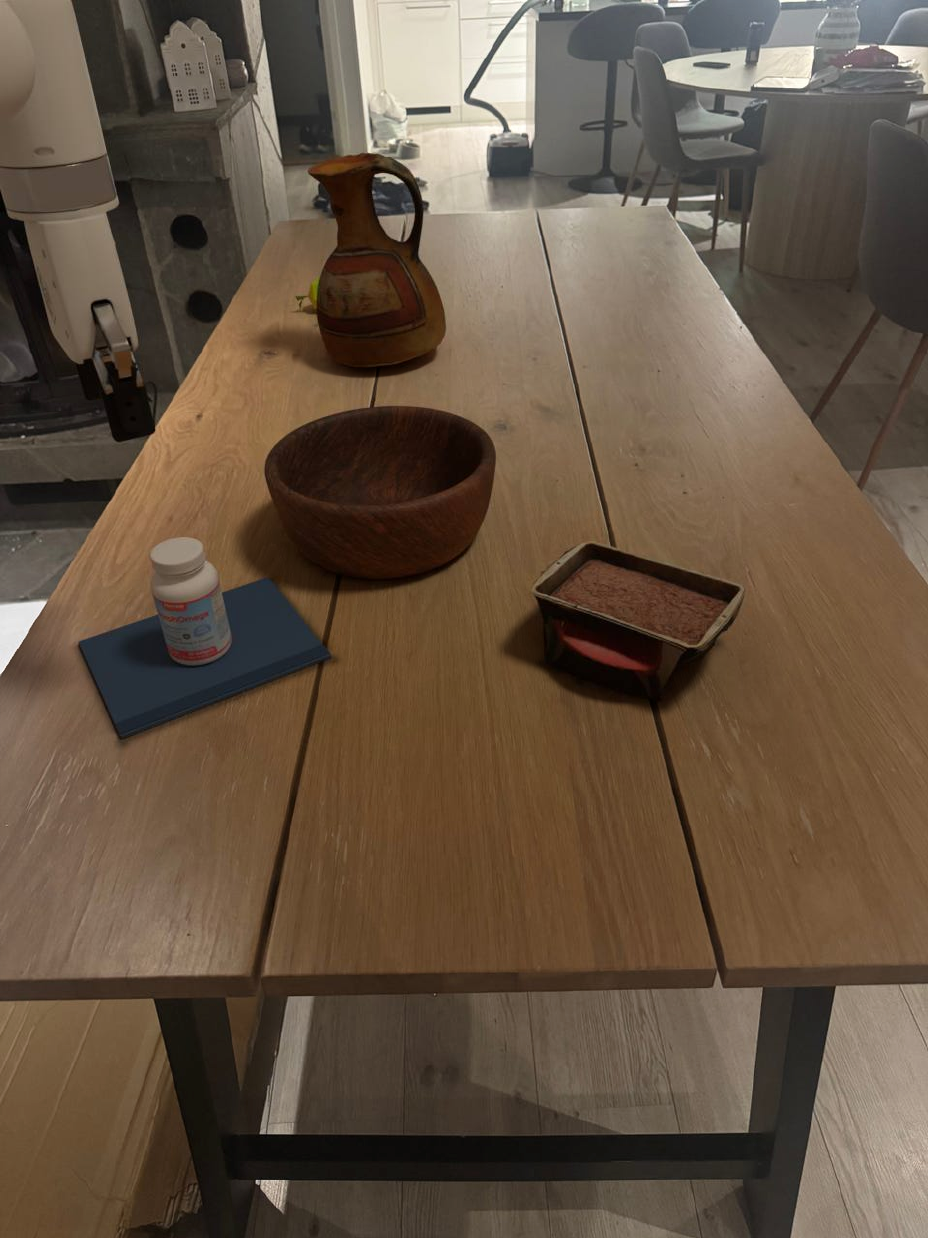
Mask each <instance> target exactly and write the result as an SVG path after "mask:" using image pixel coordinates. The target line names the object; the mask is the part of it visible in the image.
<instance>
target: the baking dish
mask: <svg viewBox="0 0 928 1238" xmlns="http://www.w3.org/2000/svg"><path fill="white" fill-rule="evenodd" d="M530 590H531V592H532V594H533V596H534V598H535V599H536V601H537V605H538V608H539V609H538V610H539V612H540V615H541V619H542V631H543V632H542V633H543V648H544V658H543V662H544V663H546V664H547V665H549V666H550V667H553V668H555V669H558V670H560V671H563V672H565V673H568V674H571V675H572V676H576V677H579V678H581V679H585V680H588V681H590V682H594V683H596V684H599V685H603V686H605V687H609V688H610V689H614V690H616V691H619V692H623V693H625V694H629V695H632V696H637V697H640V698H642V699H646V700H649V701H652V702H653V701H654V702H659V703H661V701H662V700H663V696H664V691H665V687H666V683H668V680H669V678H670V677H671V675H672V673H673V672H674V671H675V670H674V669H675V668H677V667H680V666H681V665H683V664H685V663H687V662H690V661H693V660H694V659H696V658H697V657H700V656H702V655H703V654H704V652H706V651H707V650H708V649H710V648H711V647H712V646H713V645H714V644H715V643H716V642H717V639H718V638H719V637H720V636H721V635H722V633H725V632H727V631H728V630H729V628H730V627H731V626H732V625H733V624H734V622H735V620H736V618H738V615H739V612H740V610H741V607H742V604H743V601H744V599H745V595H746V588H745V586H744V584H743V583H740V582H736V581H731V580H728V579H724V578H721V577H717V576H714V575H711V574H708V573H704V572H701V571H696V570H693V569H689V568H686V567H682V566H680V565H675V564H672V563H669V562H665V561H662V560H659V559H656V558H653V557H648V556H646V555H645V556H644V555H641V554H638V553H635V552H631V551H629V550H624V549H621V548H618V547H615V546H611V545H607V544H604V543H601V542H597V541H586V542H582V543H580V544H577V545H575V546H573V547H571V548H570V549H567V550H566V551H565V552H564V553H563V554H562V555H561V556H560V557H558V559H557V560H555V561H554V562H552V563H551V564H549V565H548V567H547V568H546V569H544V570H543V571H541V572H540V575H539V577H538V578H537V579H536V580H535V581H534V582H533V584H532V585H531V588H530Z"/></svg>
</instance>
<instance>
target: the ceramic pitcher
mask: <svg viewBox="0 0 928 1238" xmlns="http://www.w3.org/2000/svg"><path fill="white" fill-rule="evenodd" d="M307 173H308V175H309V176H311V177H312V178H313V179H315V180H316V181H317V182H318V183H320V184H321V185H322V187H323V188H324V190H325V191H326V192H327V194H328V198H329V206H330V210H331V212H332V214H333V216H334V219H335V222H336V224H337V232H336V243H337V245H336V247H335V248H334V250H333V251H332V252H331V254H329V256H328V257H327V259H326V261H325V262H324V265H323V267H322V270H321V273H320V276H319V278H320V279H319V283H318V289H317V307H316V309H317V310H316V309H315V310H316V319H317V325H318V329H319V334H320V336H321V340H322V343H323V345H324V349H325V351H326V353H327V354H328V356H330V358H331V359H332V360H334V361H335V362H337V363H339V364H343V365H345V366H348V367H355V368H371V367H381V366H382V367H383V366H391V365H396V364H397V365H398V364H400V363H402V362H405V361H409V360H412V359H414V358H416V357H420V356H423V355H424V354H427V353H428V352H430V351H432V350H433V349H436V348H437V347H438V346H440V345H441V344H442V342H443V340H444V338H445V336H446V332H447V323H446V322H447V321H446V312H445V308H444V305H443V300H442V298H441V294H440V291H439V289H438V286H437V284H436V282H435V280H434V279H433V276H432V274H431V273H430V272H429V270H428V268H427V266H426V265H425V264H424V263H423V262H422V260H421V258H420V254H419V252H420V244H421V238H422V232H423V226H424V225H423V224H424V214H425V213H424V212H425V211H424V202H423V196H422V193H421V190H420V187H419V184H418V182H417V180H416V178H415V176H414V174H413V173H412V171H411V170H410V169H409V168H408V167H407V166H406V165H404V164H403V163H401V162H400V161H399V160H397V159H395V158H394V157H392V156H385V155H382V154H380V153H372V152H360V153H358V154H347V155H343V156H338V157H337V156H336V157H332V158H330V159H329V158H328V159H327V160H322V161H320V162H318V163H317V164H314V165H312V166H311V167H309V168H308V170H307ZM380 174H387V175H391V176H394V177H395V178H397V179H399V180H400V181H401V182H402V183H404V185H405V187H406V188H407V189H408V191H409V194H410V196H411V199H412V202H413V203H412V204H413V208H414V218H413V224H412V228H411V231H410V234H409V235H408V237H407V239H406V240H403V241H399V240H397V239H395V238H393V237H390V236H389V235H388V234H387V232H386V230H385V229H384V228H383V226H382V224H381V222H380V219H379V217H378V214H377V210H376V205H375V202H374V201H375V200H374V196H373V195H374V194H373V188H374V187H373V186H374V179H375V176H376V175H380Z"/></svg>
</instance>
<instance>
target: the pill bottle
mask: <svg viewBox="0 0 928 1238" xmlns="http://www.w3.org/2000/svg"><path fill="white" fill-rule="evenodd" d="M206 557H207V555H206V552H205V549H204V546H203V543H202V542H201V541H200V540H199V539H196V538H193V537H190V536H189V537H188V536H179V537H173V538H169V539H166V540H164V541H161V542H160V543H158V544H157V545H155V546H154V547H153V548H152V549H151V551H150V554H149V558H150V561H151V567H152V569H153V570H154V571H153V574H152V575H151V579H150V591H151V595H152V598H153V601H154V604H155V608H156V612H157V615H158V616H159V619H160V623H161V626H162V630H163V633H164V637H165V641H166V644H167V648H168V651H169V654H170V656H171V657H172V658H173V659H174V660H175V661H176V662H178V663H181V664H184V665H191V666H195V665H203V664H207V663H211V662H213V661H215V660H217V659H219V658H221V657H222V656H223V655H224V654H225V653H226V652H227V651H228V649H229V647H230V645H231V641H232V637H231V631H230V627H229V623H228V618H227V614H226V609H225V605H224V600H223V596H222V592H223V591H222V588H221V582H220V579H219V575H218V571H217V568H215V566H214V565H213V564H212V563H211V562H209V561H208V560H206Z"/></svg>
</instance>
